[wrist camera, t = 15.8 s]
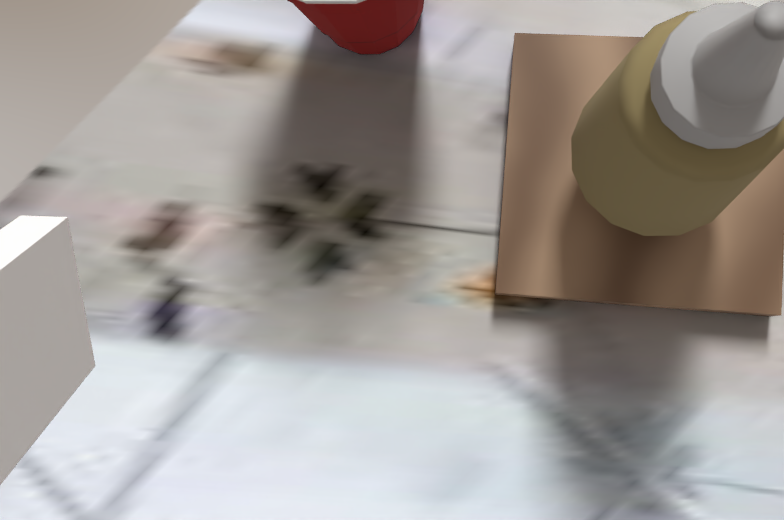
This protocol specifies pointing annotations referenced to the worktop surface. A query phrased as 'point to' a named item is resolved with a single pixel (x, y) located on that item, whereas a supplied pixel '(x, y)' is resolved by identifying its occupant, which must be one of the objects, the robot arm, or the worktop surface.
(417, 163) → the worktop surface
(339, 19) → the plastic cup
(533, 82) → the walnut board
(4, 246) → the robot arm
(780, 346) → the worktop surface
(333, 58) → the worktop surface
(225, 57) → the worktop surface
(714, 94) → the squeeze bottle
